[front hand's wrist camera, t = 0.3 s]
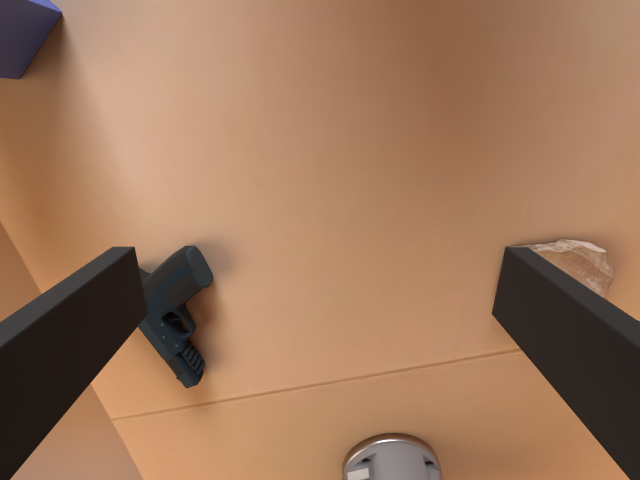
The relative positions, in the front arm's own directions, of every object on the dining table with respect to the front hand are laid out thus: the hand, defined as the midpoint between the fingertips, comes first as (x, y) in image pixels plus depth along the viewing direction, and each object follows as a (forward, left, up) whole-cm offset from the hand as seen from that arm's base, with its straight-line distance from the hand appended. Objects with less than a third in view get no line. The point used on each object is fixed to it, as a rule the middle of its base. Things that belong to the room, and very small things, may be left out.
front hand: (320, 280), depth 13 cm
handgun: (-20, +16, -28) cm, 38 cm away
